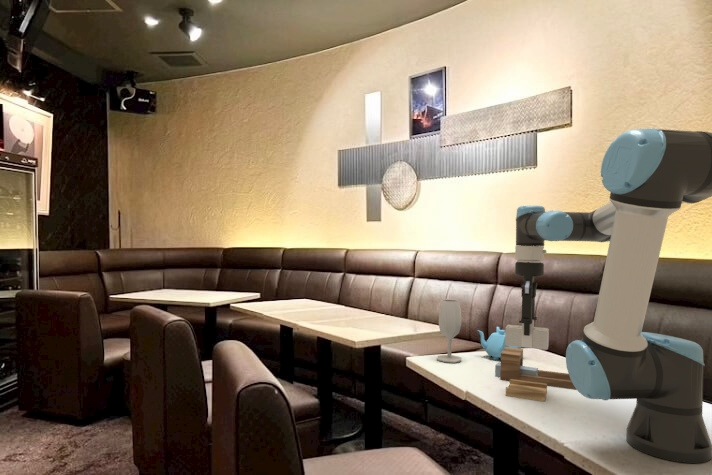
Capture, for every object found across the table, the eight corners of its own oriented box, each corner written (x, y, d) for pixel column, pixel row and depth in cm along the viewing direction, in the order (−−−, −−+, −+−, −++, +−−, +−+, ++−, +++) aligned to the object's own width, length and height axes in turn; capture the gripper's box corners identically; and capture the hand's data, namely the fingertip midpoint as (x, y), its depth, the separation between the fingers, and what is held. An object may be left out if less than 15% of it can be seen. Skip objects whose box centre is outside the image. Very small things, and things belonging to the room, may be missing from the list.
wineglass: (465, 359, 173) (466, 300, 173) (456, 364, 166) (457, 302, 166) (442, 356, 178) (443, 298, 178) (432, 360, 171) (433, 300, 171)
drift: (537, 380, 150) (538, 368, 150) (535, 383, 147) (535, 370, 147) (498, 374, 156) (498, 362, 156) (495, 377, 153) (495, 365, 153)
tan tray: (544, 401, 130) (545, 393, 130) (505, 395, 134) (505, 388, 134) (546, 390, 139) (547, 383, 139) (510, 385, 143) (510, 378, 143)
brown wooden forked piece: (589, 391, 139) (590, 363, 139) (500, 379, 149) (500, 353, 149) (588, 382, 149) (589, 355, 148) (504, 371, 159) (505, 346, 159)
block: (548, 346, 137) (548, 328, 137) (547, 349, 132) (547, 331, 132) (507, 341, 142) (507, 324, 141) (505, 345, 137) (505, 327, 137)
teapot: (497, 352, 186) (497, 325, 186) (528, 359, 175) (529, 331, 175) (475, 357, 178) (476, 329, 178) (507, 364, 167) (507, 335, 167)
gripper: (541, 263, 127) (539, 353, 127) (545, 260, 143) (544, 340, 144) (511, 262, 130) (509, 350, 130) (518, 259, 147) (517, 337, 147)
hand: (527, 344), depth 137 cm, fingers closed on block, 5 cm apart
